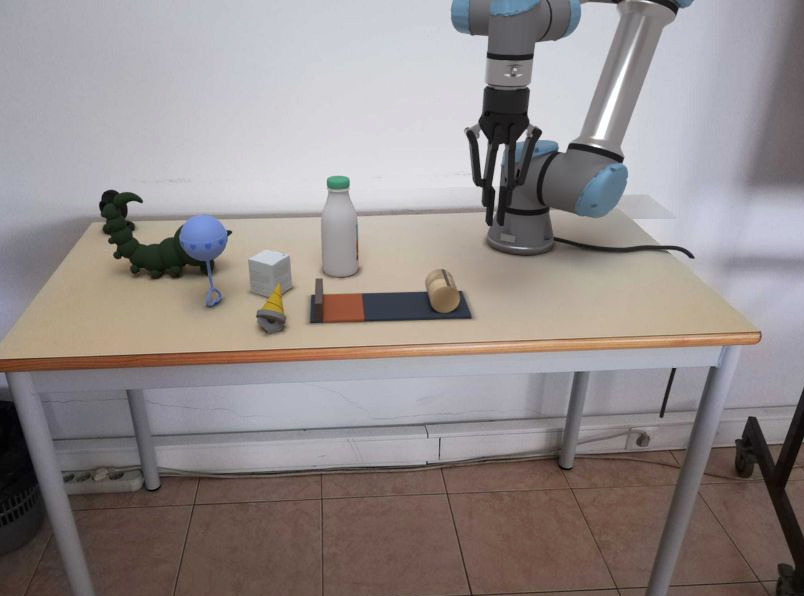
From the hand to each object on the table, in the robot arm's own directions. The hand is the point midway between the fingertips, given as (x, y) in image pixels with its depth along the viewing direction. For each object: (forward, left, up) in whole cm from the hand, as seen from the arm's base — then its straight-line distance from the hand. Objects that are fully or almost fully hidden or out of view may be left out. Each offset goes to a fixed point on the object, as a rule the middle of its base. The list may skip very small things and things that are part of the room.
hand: (494, 223), depth 123 cm
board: (+19, 0, -16) cm, 25 cm away
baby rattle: (+53, -3, -17) cm, 56 cm away
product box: (+42, -9, -17) cm, 46 cm away
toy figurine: (+63, -19, -17) cm, 68 cm away
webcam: (+82, -46, -17) cm, 95 cm away
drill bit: (+41, +6, -17) cm, 45 cm away
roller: (+9, 0, -13) cm, 16 cm away
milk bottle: (+28, -18, -17) cm, 37 cm away
